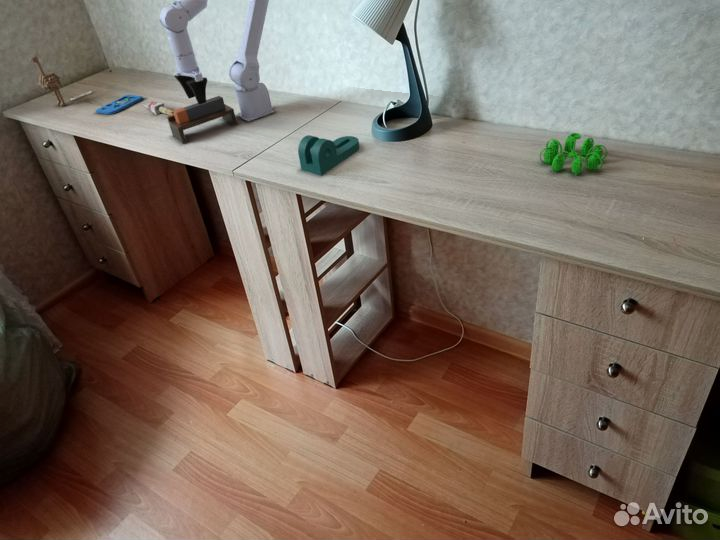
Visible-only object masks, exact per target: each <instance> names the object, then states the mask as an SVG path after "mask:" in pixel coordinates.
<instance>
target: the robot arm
mask: <svg viewBox="0 0 720 540" xmlns="http://www.w3.org/2000/svg"><path fill="white" fill-rule="evenodd" d="M269 1H270V0H248V5H247V11H246V16H245V21H244V26H243V31H242V35H241V36H242V37H241V41H240V46H239V52H238V53H237V54H236V55H235V56H234V60H233V62H232V64H231V65H230V67H229V69H228V75H229V78H230V80H231V81H232V82H234V90H235V94H236V98H237V102H238V106H239V110H240V112H238V113H236V116H237V117H239V118H240V119H242V120H243V121H246V122H251V121H254V120H257V119H259V118H262V117H265V116H267V115H271V114H273V113H275V111H274V110H273V107H272V106H273V105H272V102H271V97H270V92H269V90H268V87H267V86H266V84H265V83H263V82H261V81H260V80H261V78H260V77H261V76H260V63H259V59H258V55H259V49H260V45H261V40H262V34H263V30H264V27H265V26H264V25H265V22H266V21H265V20H266V15H267V11H268V7H269ZM207 7H208V0H173V1H171V2H170V5H169V6H165V7H164V8H162V9H161V12H160V14H159V22H160V25H162V26H163V27H164V28H165V32H166V36H167V40H168V43H169V47H170V50H171V53H172V56H173V59H174V62H175V69H176V71H174V72H173V74H174V78H175V79H176V80H177V82H178V83H179V84H180V86H181V87H182V89H183V91H184V93H185V95H186V97H187V98H188V99H193V98H195V100H196V103H198V104H203V103H206V100H207V93H206V91H207V90H206V89H207V84H208V78H207V77H205V76H204V77H203V74H202V72H201V70H200V67H199V65H198V62H197V59H196V55H195V51H194V48H193V45H192V40H191V37H190V35H189V32H188V28H187V27H188V26H189V25H188V24H189V22H191V21H192V20H193V19H194V18H195V17H197V16H198V15H199V14H200V13H201V12H203V11H204V10H205V9H206V8H207Z"/></svg>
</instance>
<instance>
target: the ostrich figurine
mask: <svg viewBox="0 0 720 540" xmlns="http://www.w3.org/2000/svg"><path fill="white" fill-rule="evenodd" d="M29 62H33V63H35V64H36V66H37V68H38V71H39V73H40V75H39V76H38V77H39V79H38V80H39V82H37V83H36V84H37V86H40V87H41V89H43V90H45V91H47V90H48V92H51V91H52V92H53V94H54V96H55V98H56V101H57V102H56V106H57V107H61V108H63V107H66V106H67V104H66V102H65V100H64V98H63V97H64V96H63V95H62V93H61V91H60V88H61V87H63V85H62V82H61V77H60V76H58V75H57V74H56V73H55V72H50V71H49V72H46V73H45V72H44V70H43V67H42V65H41V62H40V60H39V58H38V56H35V55H34V56H32V57H30V59H29ZM91 93H93V90H89V91H86V92H83V94H79V95H78V96H73V97H70V101H73V100H76V99H79V98H81V97H83V96H85V95H86V94H91Z"/></svg>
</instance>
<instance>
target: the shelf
mask: <svg viewBox="0 0 720 540" xmlns="http://www.w3.org/2000/svg"><path fill="white" fill-rule="evenodd" d="M224 104H225V109H223V110H220V111H217V112H214V113H211V114H208V115H205V116H202V117H199V118H197V119H194V120H191V121H188V122H185V123H183V124H179V123H177V122H176V119H175V116H174V115H172V116H170V115H168V116H166V119H167V122H168V125H169V128H170V131H171V134H172V137H173V138H175V139H176V140H177V141H178V142H180V143H181V144H187V143H188V142H187V141H188V140H187V138H186V135H185V130H188V129H192V128H194V127H197V126H200V125H203V124H206V123H209V122H211V121H214V120H217V119H220V118H222V120H224V121H225V122H227V123H228V124H231V125H232V126H236V125H238V121H237V118H236V113H235V109H234V108H233V107H232V106H229V105H227V104H226V103H224Z"/></svg>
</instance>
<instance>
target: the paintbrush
mask: <svg viewBox="0 0 720 540" xmlns="http://www.w3.org/2000/svg"><path fill="white" fill-rule="evenodd" d="M141 105H142V106H143V107H144V108H146V109H148V110H149V111H150V112H152V113H153V114H155V115H157V116H158V115H160V114H165V115H167V116H172V115H174V113H173V110H172V109H169V108H167V107H165V103H164V102H161V101H160V102H157V101H146V102H144V103H141Z"/></svg>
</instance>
